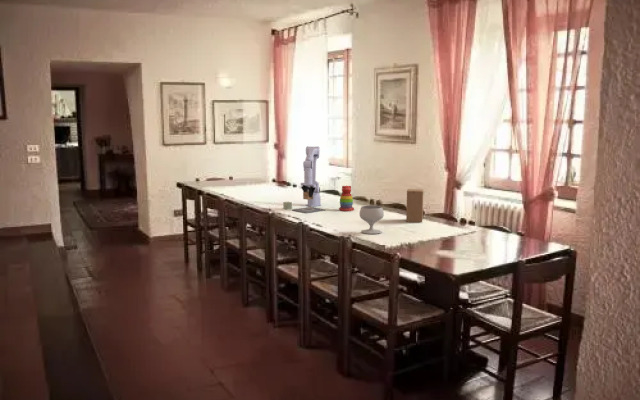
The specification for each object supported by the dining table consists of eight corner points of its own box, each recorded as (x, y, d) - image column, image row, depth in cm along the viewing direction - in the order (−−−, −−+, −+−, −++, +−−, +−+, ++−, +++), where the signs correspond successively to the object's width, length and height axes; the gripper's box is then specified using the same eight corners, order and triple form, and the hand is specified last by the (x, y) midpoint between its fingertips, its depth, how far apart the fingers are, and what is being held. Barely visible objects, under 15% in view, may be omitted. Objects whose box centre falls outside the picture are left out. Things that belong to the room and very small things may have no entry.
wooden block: (422, 222, 355) (423, 191, 352) (406, 222, 357) (406, 190, 354) (422, 219, 365) (423, 189, 361) (407, 219, 367) (407, 188, 363)
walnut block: (308, 198, 403) (308, 191, 402) (313, 199, 399) (313, 192, 398) (303, 198, 399) (303, 192, 399) (307, 199, 396) (307, 192, 395)
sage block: (288, 208, 410) (288, 201, 409) (291, 209, 407) (291, 202, 406) (283, 209, 407) (283, 202, 406) (287, 209, 404) (287, 202, 403)
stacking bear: (354, 209, 405) (354, 184, 402) (353, 211, 395) (353, 186, 392) (339, 209, 406) (339, 184, 403) (338, 211, 396) (338, 186, 393)
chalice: (362, 235, 318) (363, 209, 316) (356, 230, 332) (356, 205, 330) (386, 234, 321) (387, 208, 319) (379, 229, 335) (379, 204, 332)
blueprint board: (310, 207, 412) (310, 206, 412) (325, 210, 401) (325, 209, 401) (291, 210, 400) (291, 209, 400) (306, 213, 389) (306, 212, 389)
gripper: (297, 177, 400) (297, 196, 402) (310, 178, 389) (310, 198, 391) (304, 176, 404) (305, 195, 406) (318, 178, 394) (318, 197, 396)
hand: (308, 196), depth 399 cm, fingers closed on walnut block, 5 cm apart
